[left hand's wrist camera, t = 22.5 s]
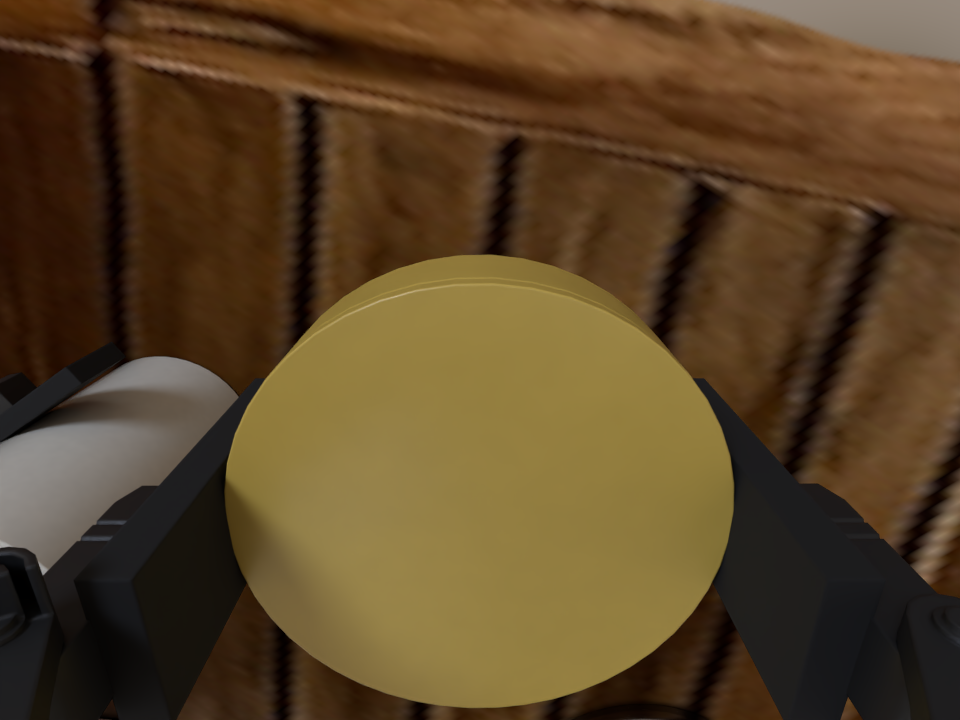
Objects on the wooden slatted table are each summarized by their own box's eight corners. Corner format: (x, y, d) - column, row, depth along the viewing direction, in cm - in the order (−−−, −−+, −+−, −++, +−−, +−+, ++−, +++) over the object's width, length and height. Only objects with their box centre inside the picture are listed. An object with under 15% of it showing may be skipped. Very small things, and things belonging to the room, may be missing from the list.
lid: (220, 273, 11) (159, 307, 9) (704, 234, 11) (759, 259, 9) (311, 634, 14) (282, 720, 12) (681, 611, 14) (717, 696, 12)
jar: (258, 501, 31) (75, 800, 17) (106, 490, 31) (-207, 785, 17) (249, 362, 28) (22, 584, 14) (82, 349, 28) (-319, 562, 14)
